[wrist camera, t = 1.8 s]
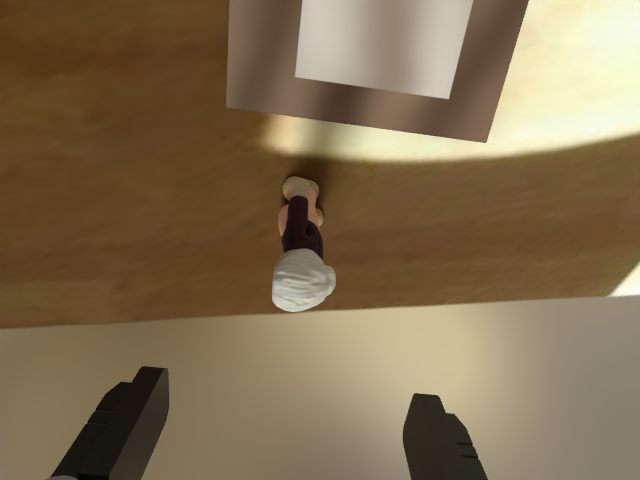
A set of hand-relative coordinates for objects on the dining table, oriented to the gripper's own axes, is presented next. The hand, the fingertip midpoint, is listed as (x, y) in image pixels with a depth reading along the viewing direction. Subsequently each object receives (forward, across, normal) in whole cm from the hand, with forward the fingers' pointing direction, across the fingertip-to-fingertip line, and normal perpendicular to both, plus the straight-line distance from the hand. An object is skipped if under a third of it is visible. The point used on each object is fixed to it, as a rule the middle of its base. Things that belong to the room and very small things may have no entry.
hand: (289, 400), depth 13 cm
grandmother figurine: (+19, 0, 0) cm, 19 cm away
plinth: (+19, -3, -15) cm, 24 cm away
